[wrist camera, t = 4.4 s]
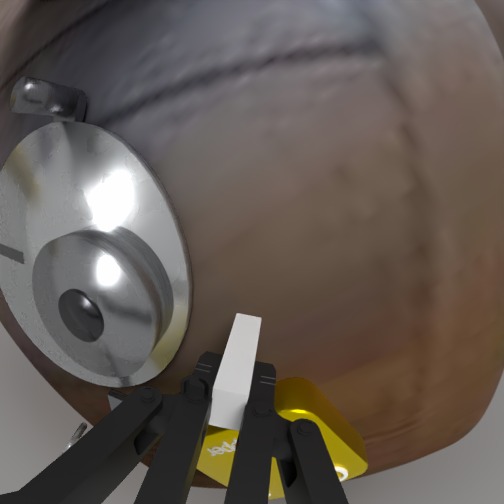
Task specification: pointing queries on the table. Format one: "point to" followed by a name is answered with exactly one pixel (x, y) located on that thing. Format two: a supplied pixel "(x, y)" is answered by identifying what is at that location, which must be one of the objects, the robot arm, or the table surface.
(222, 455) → the element tile
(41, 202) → the turntable
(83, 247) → the cover
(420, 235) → the table surface
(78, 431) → the stand
